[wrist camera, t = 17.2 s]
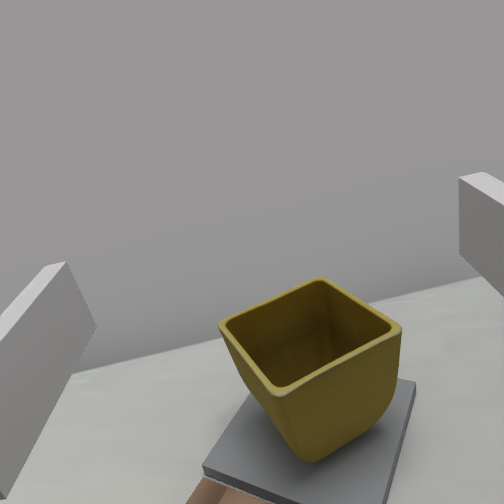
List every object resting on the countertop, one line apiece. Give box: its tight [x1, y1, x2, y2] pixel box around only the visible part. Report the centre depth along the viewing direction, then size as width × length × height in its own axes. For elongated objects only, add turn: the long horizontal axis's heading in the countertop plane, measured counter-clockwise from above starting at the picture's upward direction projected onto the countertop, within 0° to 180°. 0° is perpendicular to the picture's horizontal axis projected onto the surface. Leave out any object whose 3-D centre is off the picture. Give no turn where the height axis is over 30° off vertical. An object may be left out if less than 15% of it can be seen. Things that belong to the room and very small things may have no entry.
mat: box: [202, 378, 416, 504], centre depth 31 cm, size 12×12×1 cm
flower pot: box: [218, 276, 402, 463], centre depth 29 cm, size 9×9×9 cm
